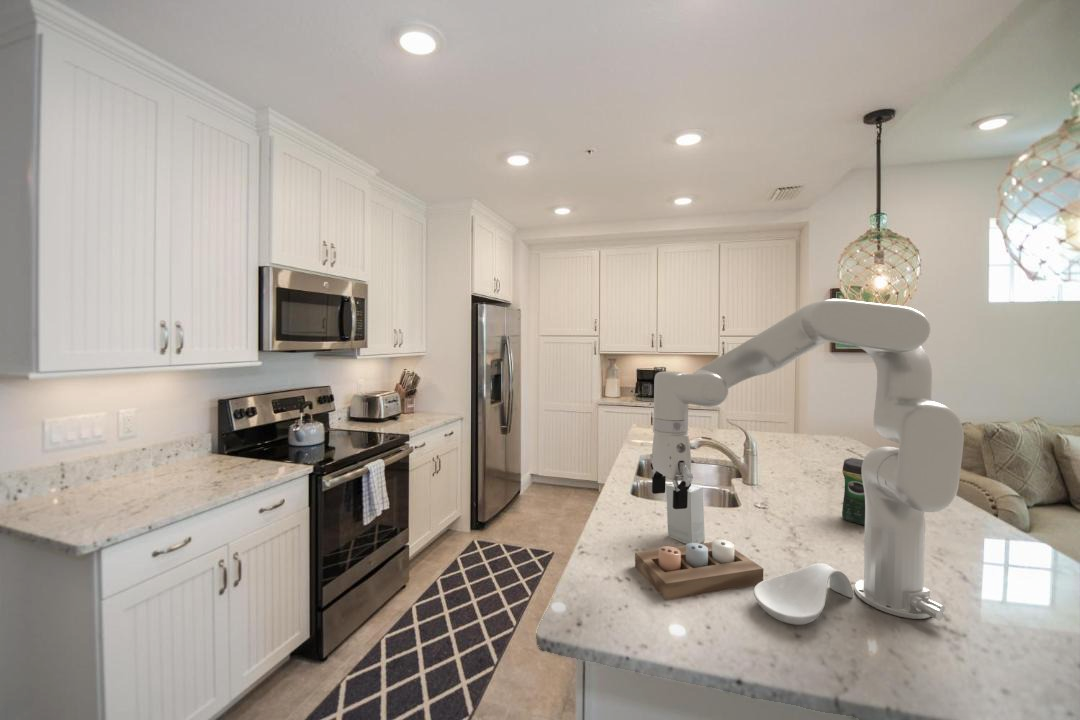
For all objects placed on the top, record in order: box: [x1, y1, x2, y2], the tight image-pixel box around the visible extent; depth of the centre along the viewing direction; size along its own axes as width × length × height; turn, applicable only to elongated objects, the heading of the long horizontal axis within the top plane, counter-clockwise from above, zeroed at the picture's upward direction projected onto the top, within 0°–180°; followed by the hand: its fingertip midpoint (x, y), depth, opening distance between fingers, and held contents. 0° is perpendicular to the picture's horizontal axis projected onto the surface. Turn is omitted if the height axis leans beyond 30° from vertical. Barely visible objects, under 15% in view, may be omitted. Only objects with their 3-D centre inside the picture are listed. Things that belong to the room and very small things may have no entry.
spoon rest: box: [753, 562, 854, 626], centre depth 87 cm, size 24×12×7 cm, turn 116°
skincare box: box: [665, 480, 706, 545], centre depth 117 cm, size 8×6×15 cm
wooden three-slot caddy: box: [634, 541, 764, 601], centre depth 99 cm, size 14×24×4 cm, turn 104°
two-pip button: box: [685, 543, 708, 568], centre depth 99 cm, size 5×5×5 cm
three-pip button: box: [658, 545, 681, 572], centre depth 97 cm, size 5×5×5 cm
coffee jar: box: [841, 457, 865, 526], centre depth 128 cm, size 10×8×19 cm
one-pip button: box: [711, 539, 735, 564], centre depth 100 cm, size 5×5×5 cm
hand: (668, 500), depth 98 cm, fingers open, 9 cm apart
